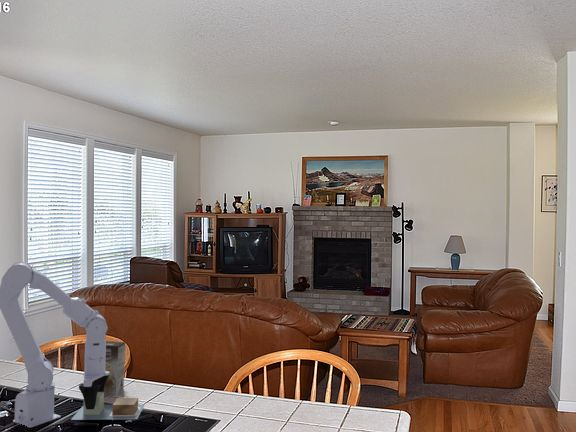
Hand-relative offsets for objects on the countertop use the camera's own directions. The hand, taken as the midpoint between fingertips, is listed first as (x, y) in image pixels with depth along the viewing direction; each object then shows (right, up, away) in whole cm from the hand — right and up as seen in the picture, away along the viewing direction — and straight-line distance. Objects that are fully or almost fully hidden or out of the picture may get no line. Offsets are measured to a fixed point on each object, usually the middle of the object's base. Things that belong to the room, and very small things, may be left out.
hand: (94, 404), depth 151 cm
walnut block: (+9, -2, +1) cm, 9 cm away
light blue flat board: (+4, -3, 0) cm, 5 cm away
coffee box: (-3, -3, +18) cm, 19 cm away
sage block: (0, -2, 0) cm, 2 cm away
